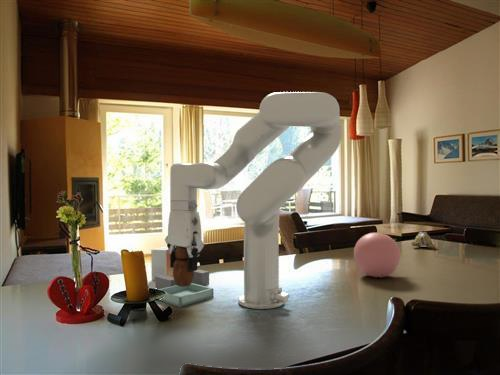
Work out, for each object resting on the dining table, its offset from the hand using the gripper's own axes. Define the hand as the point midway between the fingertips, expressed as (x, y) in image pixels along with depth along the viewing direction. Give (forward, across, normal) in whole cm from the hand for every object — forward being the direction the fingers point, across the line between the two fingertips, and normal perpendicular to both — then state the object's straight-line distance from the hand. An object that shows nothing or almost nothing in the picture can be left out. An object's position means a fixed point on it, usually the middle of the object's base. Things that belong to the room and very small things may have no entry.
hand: (183, 268), depth 114 cm
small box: (+9, +24, -11) cm, 28 cm away
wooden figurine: (+5, 0, 0) cm, 5 cm away
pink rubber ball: (+8, -32, -62) cm, 70 cm away
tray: (+9, 0, 0) cm, 9 cm away
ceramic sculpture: (+8, -23, -135) cm, 137 cm away
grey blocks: (+9, +10, -8) cm, 16 cm away
